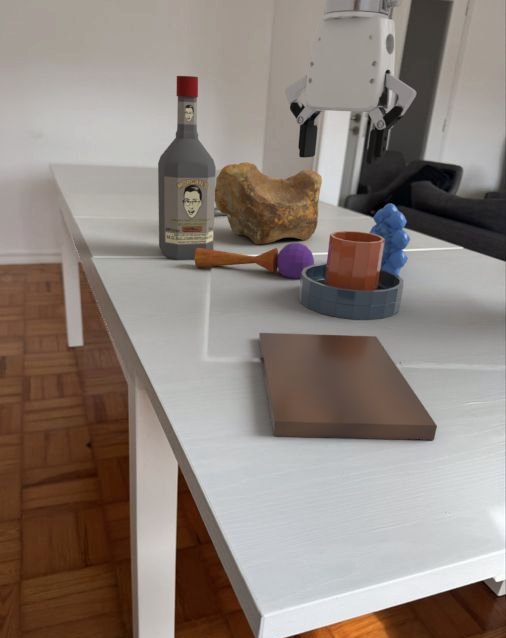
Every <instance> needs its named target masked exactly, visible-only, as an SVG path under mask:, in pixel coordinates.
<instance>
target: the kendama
mask: <svg viewBox="0 0 506 638" xmlns="http://www.w3.org/2000/svg"><path fill="white" fill-rule="evenodd" d="M249 264H250V265H251V264H256V265H257V266H260V267H261V268H264V269H265V270H267V271H269V272H271V273H273V274H277V272H279V273H280V274H281V275H282V276H283V277H285V278H287V279H292V280H298V279H299V280H300V278H301V272H302V270H303V269H304V268H306V267H308V266H310V265H315V259H314V255H313V252H312V251H311V250H310V249H309V248H308V247H307V246H306V245H305V244H303V243H301V242H291V243H288V244H285V246H284V247H282V248H281V249H280V251H279V250H278V248H277V247H275V248H273V249H270V250H268V251H265V252H263V253H260V254H258V255H256V256H255V255H249V254H241V253H235V252H228V251H222V250H216V249H213V250H209V249H203V248H197V249H196V251H195V259H194V265H195V267H196V268H207V267H220V266H221V267H222V266H223V267H224V266H235V265H237V266H238V265H249Z"/></svg>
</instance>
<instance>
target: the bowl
mask: <svg viewBox="0 0 506 638" xmlns="http://www.w3.org/2000/svg"><path fill="white" fill-rule="evenodd" d="M326 265H327V262H324V263H323V262H322V263H316V264H314V265H310V266H308V267H306V268H304V269H303V270H302V272H301V278H300V279H299V280H300V281H299V289H298V300H299V303H300V304H302V305H303V306H305V308H307V309H309V310H311V311H314V312H317V313H319V314H322V315H326V316H330V317H332V318H333V317H335V318H340V319H347V320H364V321H365V320H366V321H368V320H381V319H385V318H390V317H392V316H394V315H396V314H397V313H398V312H400V307H401V301H402V296H403V289H404V283H405V282H404V279H403V278H402V277H401V276H400V275H399V274H398V275H396V274H394V273H392V272H390V271H387V270H384V269H381V268H380V274H379V280H378V287H377V290H351V289H343V288H337V287H333V286H328V285H324V283H325V274H326Z"/></svg>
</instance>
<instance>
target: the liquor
mask: <svg viewBox="0 0 506 638" xmlns="http://www.w3.org/2000/svg"><path fill="white" fill-rule="evenodd" d="M176 97H177V112H176V113H177V114H176V115H177V117H176V118H177V119H176V120H177V122H176V124H177V125H176V132H175V137H174V139H173V140H172V141H171V142H170V144H169V145H168V146H167V148H166V149H165V150H164V151H163V152H162V154H161V155H160V157H159V159H158V162H157V176H158V177H157V178H158V179H157V181H158V182H157V183H158V184H157V185H158V192H157V193H158V194H157V195H158V247H159V250H160V251H161V253H162V255H164V256H165V258H166V259H172V260H177V261H184V260H185V261H187V260H195V251H196V249H197V248H203V249H209V250H214V239H215V238H214V234H215V233H214V232H215V216H214V204H215V187H216V168H217V167H216V164H215V161H214V159H213V157H212V155H211V154H210V153H209V152H208V150H207V149H206V148H205V146H204V145H203V143H202V142H201V141H200V140H199V133H198V122H197V121H198V97H199V77H198V76H191V75H176Z"/></svg>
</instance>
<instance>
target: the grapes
mask: <svg viewBox="0 0 506 638" xmlns="http://www.w3.org/2000/svg"><path fill="white" fill-rule="evenodd" d="M372 219H373V221H374V223H375V225H373V227H372V228H371V229H370V230H369V233H372V234H375V235H379V236H381V237H383V238H384V239H385V242H384V248H383V255H382V261H381V267H380V268H381V269H384V270H387V271H390V272H392V273H394V274H396V275H399V274H400V272H401V269H403V268H404V267H405V266H406V264H407V262H408V259H409V258H408V255H407V254H406V253H405V251H404V249H406V248H407V247H408V245H409V244H410V241H411V238H410V235H409V234H408V233H407V231H406V230H404V228H405V226H406V224H407V222H408V220H407V218H406V217H405V215H404V214H403V213H402V212H401V211H399V210H398V208H397V206H396V205H395V204H393V203H390V202H389V203H387V204H385V205H384V207H383V208H380V209H378V210H377V212H376V213H375V214H374V215H373V218H372Z"/></svg>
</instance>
